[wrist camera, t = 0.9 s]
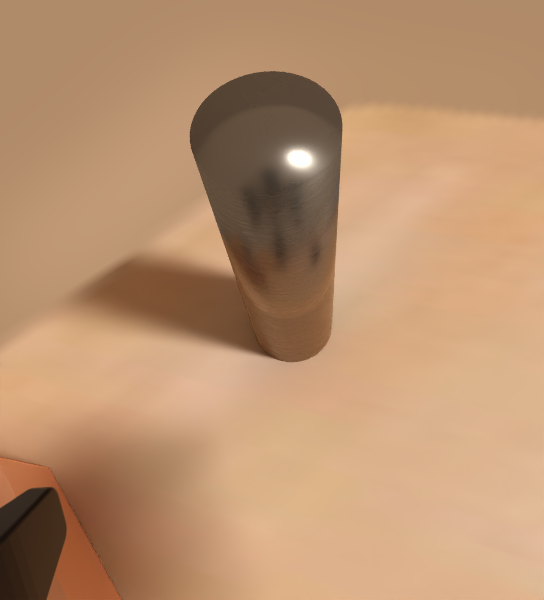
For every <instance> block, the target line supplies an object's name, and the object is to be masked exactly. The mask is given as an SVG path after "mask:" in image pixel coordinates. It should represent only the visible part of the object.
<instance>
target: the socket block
mask: <svg viewBox="0 0 544 600" xmlns="http://www.w3.org/2000/svg"><path fill="white" fill-rule="evenodd" d="M35 487H53V488H55V489H56V490H57V492H58V494H59V498H60V502H61V505H62V509H63V512H64V516H65V520H66V524H67V534H66V539H65V543H64V546H63V549H62V552H61V555H60V559H59V562H58V565H57V568H56V571H55V575H54V578H53V581H52V584H51V587H50V591H49V594H48V597H47V600H121V598H120V596H119V594H118V593H117V591H116V589H115V587H114V585H113V583H112V582H111V580H110V578H109V576H108V574H107V573H106V571H105V569H104V567H103V565H102V563H101V562H100V560H99V558H98V556H97V554H96V552H95V551H94V549H93V547H92V545H91V543H90V541H89V540H88V538H87V536H86V534H85V532H84V530H83V529H82V527H81V525H80V523H79V521H78V519H77V518H76V516H75V514H74V512H73V510H72V508H71V507H70V505H69V503H68V501H67V499H66V498H65V496H64V494H63V492H62V490H61V488H60V487H59V485H58V483H57V481H56V479H55V477H54V476H53V474H52V472H51V470H50V468H48V467H43V466H38V465H34V464H29V463H24V462H20V461H15V460H10V459H5V458H1V457H0V508H1V507H2V506H4V505H5V504H7V503H8V502H10V501H11V500H13V499H14V498H16V497H17V496H19V495H20V494H22V493H23V492H25V491H26V490H28V489H30V488H35Z"/></svg>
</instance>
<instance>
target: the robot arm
mask: <svg viewBox="0 0 544 600" xmlns="http://www.w3.org/2000/svg"><path fill="white" fill-rule="evenodd" d="M66 534H67V524H66V520H65V516H64V512H63V509H62V505H61V502H60V498H59V494H58V492H57V490H56V489H55V488H53V487H35V488H30V489H28V490H26V491H25V492H23V493H22V494H20V495H19V496H17V497H16V498H14V499H13V500H11V501H10V502H8V503H7V504H5V505H4V506H2V507H1V508H0V600H47V597H48V594H49V591H50V587H51V584H52V581H53V578H54V575H55V571H56V568H57V565H58V562H59V559H60V555H61V552H62V549H63V546H64V543H65V539H66Z"/></svg>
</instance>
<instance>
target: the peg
mask: <svg viewBox="0 0 544 600" xmlns="http://www.w3.org/2000/svg"><path fill="white" fill-rule="evenodd" d="M190 144H191V149H192V152H193V155H194V158H195V161H196V164H197V167H198V169H199V172H200V175H201V178H202V181H203V184H204V187H205V190H206V193H207V196H208V199H209V202H210V204H211V207H212V210H213V213H214V216H215V219H216V222H217V225H218V228H219V231H220V233H221V236H222V239H223V242H224V245H225V248H226V251H227V254H228V257H229V260H230V262H231V265H232V268H233V271H234V274H235V277H236V280H237V283H238V286H239V289H240V291H241V294H242V297H243V300H244V303H245V306H246V309H247V312H248V315H249V318H250V321H251V323H252V326H253V329H254V332H255V335H256V338H257V340H258V342H259V344H260V346H261V347H262V348H263V349H264V350H265V352H267V353H268V354H269V355H271V356H272V357H274V358H276V359H278V360H282V361H287V362H298V361H303V360H306V359H309V358H311V357H313V356H314V355H316V354H317V353H319V352H320V351H321V350H322V349H323V347H324V346H325V345H326V343H327V342H328V339H329V337H330V334H331V329H332V312H333V293H334V275H335V256H336V238H337V219H338V200H339V182H340V163H341V145H342V118H341V114H340V111H339V108H338V106H337V104H336V102H335V101H334V99H333V98H332V97H331V95H330V94H329V93H328V92H327V91H326V90H325V89H324V88H322V87H321V86H319V85H318V84H317V83H315V82H313V81H311V80H310V79H307V78H305V77H302V76H299V75H296V74H292V73H286V72H275V71H273V72H272V71H271V72H259V73H253V74H248V75H245V76H242V77H239V78H236V79H234V80H231V81H229V82H227V83H226V84H224V85H222V86H221V87H219V88H218V89H216V90H215V91H214V92H212V93H211V94H210V95H209V96H208V97H207V98H206V99H205V100H204V102H203V103H202V104H201V105H200V107H199V108H198V110H197V112H196V114H195V116H194V118H193V121H192V124H191V129H190Z"/></svg>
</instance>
